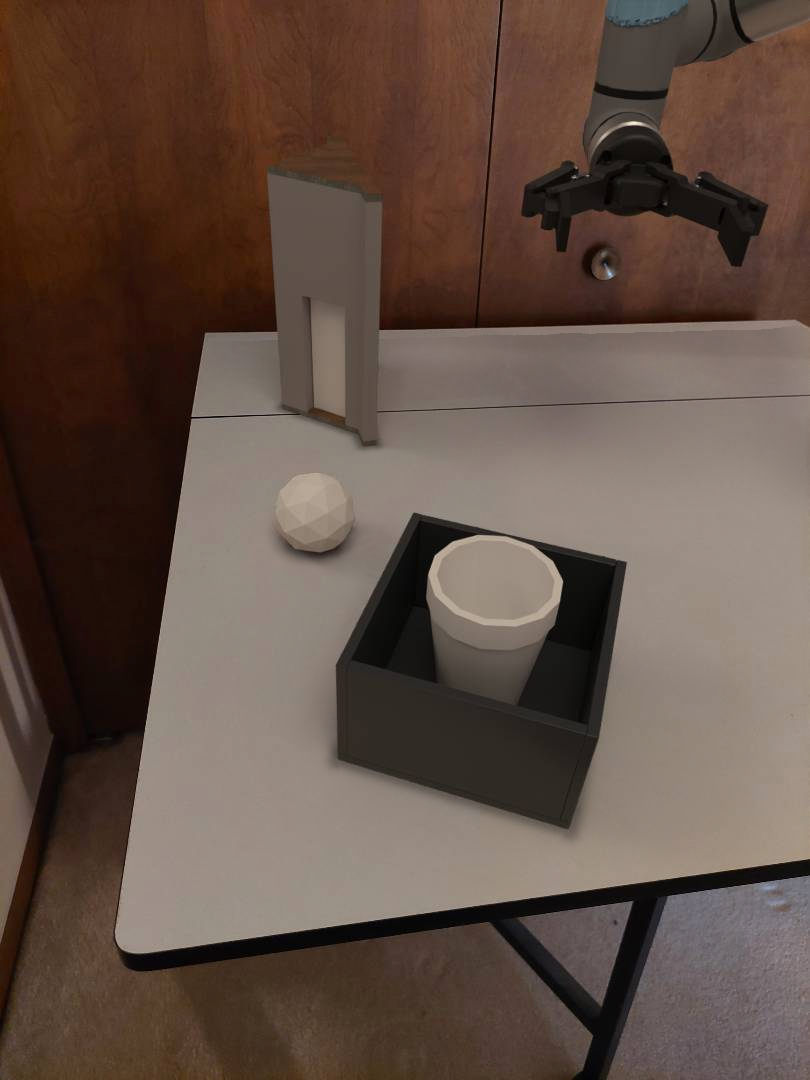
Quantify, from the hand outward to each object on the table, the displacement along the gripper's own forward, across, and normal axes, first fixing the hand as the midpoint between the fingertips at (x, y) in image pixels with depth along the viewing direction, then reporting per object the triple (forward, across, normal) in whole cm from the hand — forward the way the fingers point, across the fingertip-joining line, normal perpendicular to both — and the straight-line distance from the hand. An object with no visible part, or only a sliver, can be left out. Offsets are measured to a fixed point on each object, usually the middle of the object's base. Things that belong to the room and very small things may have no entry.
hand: (652, 242), depth 62 cm
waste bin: (+22, +9, -30) cm, 39 cm away
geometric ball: (+5, +26, -30) cm, 41 cm away
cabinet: (-21, +32, -30) cm, 49 cm away
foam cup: (+22, +10, -30) cm, 38 cm away
